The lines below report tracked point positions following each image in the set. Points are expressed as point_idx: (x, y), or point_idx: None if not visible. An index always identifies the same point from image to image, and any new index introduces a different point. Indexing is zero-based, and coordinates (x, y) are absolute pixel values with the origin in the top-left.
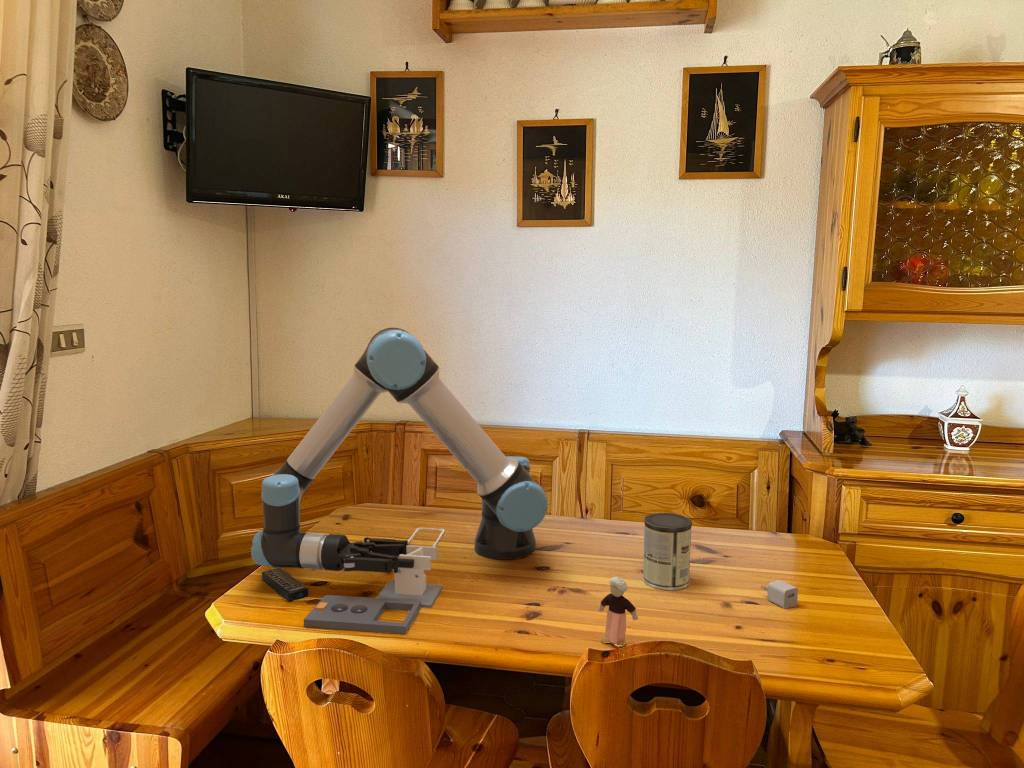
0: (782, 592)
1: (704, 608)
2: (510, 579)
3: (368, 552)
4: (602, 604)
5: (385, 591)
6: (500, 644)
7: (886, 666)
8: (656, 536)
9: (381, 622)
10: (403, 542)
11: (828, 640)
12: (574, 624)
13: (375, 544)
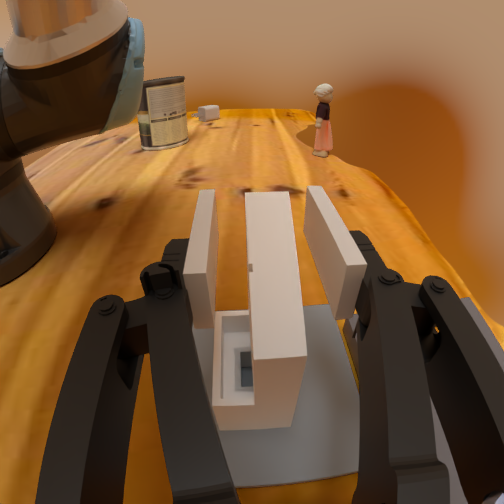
0: (217, 108)
1: (225, 131)
2: (144, 223)
3: (420, 463)
4: (323, 118)
5: (280, 467)
6: (390, 205)
7: (286, 110)
8: (178, 89)
9: (491, 346)
10: (122, 308)
11: (262, 114)
12: (295, 167)
13: (189, 499)
